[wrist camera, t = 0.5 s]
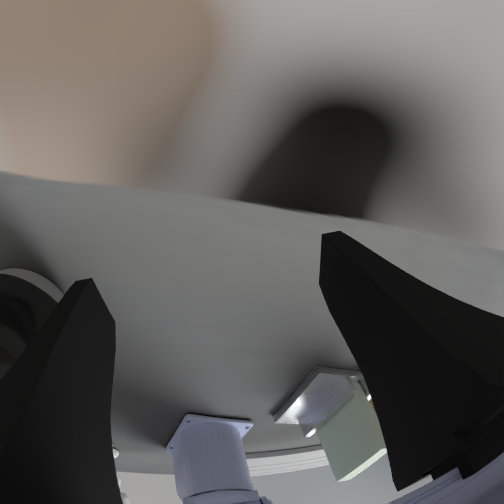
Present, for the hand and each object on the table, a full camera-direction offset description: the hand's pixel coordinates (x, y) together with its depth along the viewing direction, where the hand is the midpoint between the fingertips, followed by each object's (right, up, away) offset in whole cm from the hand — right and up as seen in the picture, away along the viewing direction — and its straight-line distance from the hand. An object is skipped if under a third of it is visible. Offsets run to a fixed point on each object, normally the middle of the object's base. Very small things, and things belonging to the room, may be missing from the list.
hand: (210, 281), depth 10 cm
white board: (+12, -32, +34) cm, 48 cm away
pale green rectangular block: (+11, -16, +23) cm, 30 cm away
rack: (+13, -17, +25) cm, 32 cm away
